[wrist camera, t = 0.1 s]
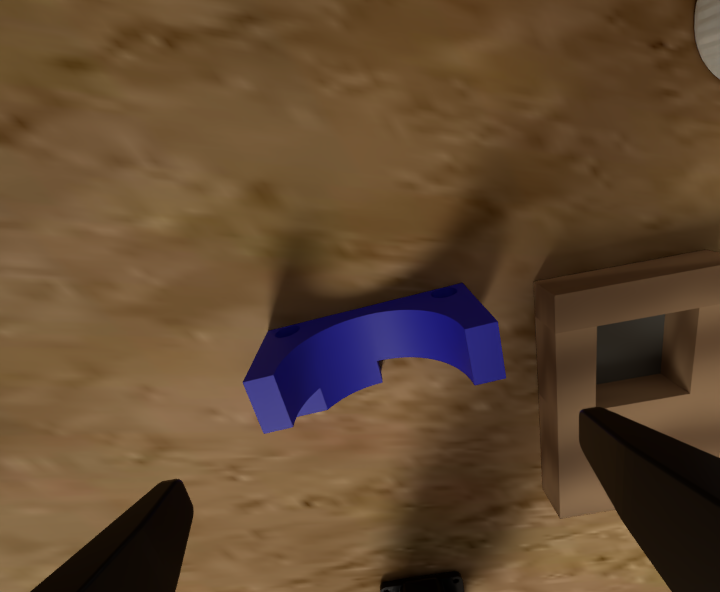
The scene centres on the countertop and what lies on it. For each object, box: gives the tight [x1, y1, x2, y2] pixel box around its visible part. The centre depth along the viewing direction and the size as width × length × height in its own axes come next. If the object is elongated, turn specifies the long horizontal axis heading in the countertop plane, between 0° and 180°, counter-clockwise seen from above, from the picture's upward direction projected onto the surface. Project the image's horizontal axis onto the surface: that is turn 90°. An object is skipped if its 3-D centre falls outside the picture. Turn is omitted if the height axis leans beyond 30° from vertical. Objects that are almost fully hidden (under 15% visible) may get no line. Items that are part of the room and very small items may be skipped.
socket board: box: [533, 250, 720, 519], centre depth 24 cm, size 16×10×2 cm, turn 11°
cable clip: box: [243, 283, 506, 434], centre depth 21 cm, size 12×4×6 cm, turn 104°
